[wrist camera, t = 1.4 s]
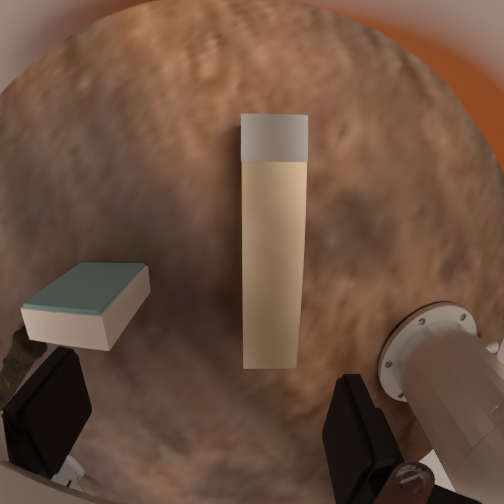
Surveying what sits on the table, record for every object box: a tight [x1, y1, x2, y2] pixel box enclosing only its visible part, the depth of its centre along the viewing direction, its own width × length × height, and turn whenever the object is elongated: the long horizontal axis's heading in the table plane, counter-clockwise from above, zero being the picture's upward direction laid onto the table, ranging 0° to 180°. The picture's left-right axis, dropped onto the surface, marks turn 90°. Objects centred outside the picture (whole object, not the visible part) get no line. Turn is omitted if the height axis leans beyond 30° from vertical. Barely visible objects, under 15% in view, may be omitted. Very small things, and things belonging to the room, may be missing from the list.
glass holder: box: [38, 454, 85, 493], centre depth 30 cm, size 9×14×15 cm, turn 77°
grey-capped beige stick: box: [241, 114, 308, 369], centre depth 24 cm, size 4×18×6 cm, turn 0°
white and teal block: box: [21, 262, 151, 351], centre depth 23 cm, size 7×3×10 cm, turn 90°
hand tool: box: [0, 327, 47, 411], centre depth 30 cm, size 19×4×5 cm, turn 133°
